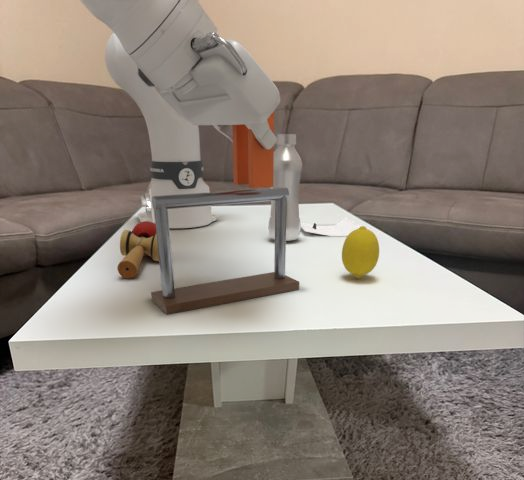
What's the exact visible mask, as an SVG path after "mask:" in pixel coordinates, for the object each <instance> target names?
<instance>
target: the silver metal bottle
mask: <svg viewBox="0 0 524 480" xmlns="http://www.w3.org/2000/svg"><path fill="white" fill-rule="evenodd" d="M275 136H276V138H277V141H276V143H275V145H276V148H275V149H274V164H273V187H270V188H283V187H286V188H288V190H289V197H288V199H287V218H286V242H290V241H296V240H298V238H299V237H300V235H301V230H302V227H301V224H300V222H301V218H300V211H299V210H300V207H299V196H300V195H299V193H300V183H301V177H302V170H303V161H302V158H301V156H300V154H299V153H298V151H297V150H296V145H297V134H296V133H276V135H275ZM269 213H270V216H269V220H268V227H267V230H268V235H269V236H270V238H271V240H274V241H275V201H270V212H269Z"/></svg>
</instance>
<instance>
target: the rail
mask: <svg viewBox="0 0 524 480" xmlns="http://www.w3.org/2000/svg"><path fill="white" fill-rule="evenodd" d="M288 197H289V190H288V188H286V187H283V188H271V187H267V188H252V189H240V190H225V191H212V192H211V191H210V192H209V193H194V194H179V195H165V196H153V197H152V206H153V209H154V214H155V224H156V234H157V244H158V254H159V261H158V263H159V271H160V281H161V282H160V283H161V290H155V291H151V292H150V296H151V301H152V302H153V303H154V304H155V305H156V306H157V307H158V308H159V309H160V310H161V311H162V312H163V313H164V314H165V315H171V314H177V313H181V312H186V311H187V312H188V311H192V310H197V309H201V308H202V309H203V308H209V307H214V306H219V305H225V304H230V303H236V302H240V301H245V300H250V299H255V298H261V297H267V296H271V295H277V294H282V293H283V294H284V293H288V292H293V291H299V290H300V281H299V280H297V279H295V278H292V277H290V276H289V275H286V261H287V260H286V256H287V255H286V254H287V253H286V252H287V241H286V218H287V199H288ZM271 201H275V240H274V262H273V263H274V266H273V267H274V269H273V270H274V271H272V272H266V273H259V274H254V275H248V276H247V275H246V276H241V277H236V278H235V277H234V278H229V279H223V280H216V281H211V282H205V283H197V284H191V285H186V286H180V287H175V277H174V267H173V254H172V243H171V232H170V231H171V230H170V228H169V219H168V209H178V208H190V207H203V206H211V207H213V206H225V205H237V204H249V203H250V204H251V203H263V202H271Z"/></svg>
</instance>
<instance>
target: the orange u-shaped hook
mask: <svg viewBox="0 0 524 480" xmlns="http://www.w3.org/2000/svg"><path fill="white" fill-rule="evenodd" d="M267 121H268V124H269V128H270V130H271V131H272V132H273V134H274V133H275V111H274V112H273V113H272V114H271V115H270V116H269V118H268V119H267ZM232 133H233V143H232V164H233V165H232V169H233V170H232V171H233V172H232V173H233V185H237V186H242V185H246V186H247V185H248V188H251V189H264V188H271V187H273V164H274V152H275V144H274V145H273V147H272V148H271V149H269V150H268V149H262V148H261V147H260V146H259V145H258V144H257V142H256V141H255V140H254V139H255V138H256V137H255V135H254V133H253V132H252V130H251V129H248V128H247V127H246V125H245V124H243V125H232ZM274 135H275V134H274Z"/></svg>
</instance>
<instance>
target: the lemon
mask: <svg viewBox="0 0 524 480" xmlns="http://www.w3.org/2000/svg"><path fill="white" fill-rule="evenodd" d="M360 226H361V227H359V228H358V229H356V230H354V231H352V232H351V233H350V234H349V235H348V236H346V237H345V239H344V242H343V245H342V248H341V261H342V264H343V266H344V268H345V270H346V271H347V272H348V273H350V274H351V275H353V276H354V278H355V279H361V278H362V277H363V276H364V275H367V274H369V273H371V272H372V271H373V270H375V267H376V266H377V264H378V261H379V257H380V243H379V240H378V237H377V235H376V234H375V233H374V232H373V231H372V230H370V229H368V228H367V227H366V226H364V225H360Z"/></svg>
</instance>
